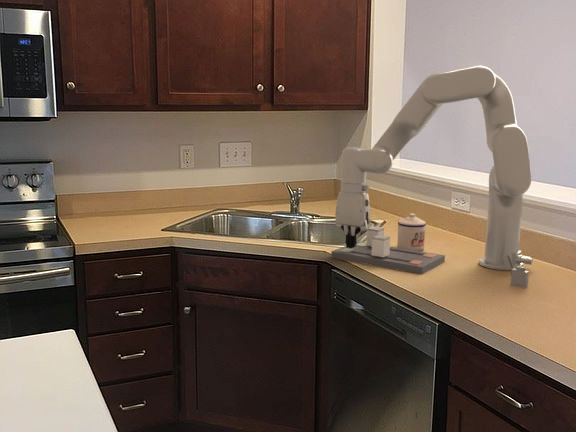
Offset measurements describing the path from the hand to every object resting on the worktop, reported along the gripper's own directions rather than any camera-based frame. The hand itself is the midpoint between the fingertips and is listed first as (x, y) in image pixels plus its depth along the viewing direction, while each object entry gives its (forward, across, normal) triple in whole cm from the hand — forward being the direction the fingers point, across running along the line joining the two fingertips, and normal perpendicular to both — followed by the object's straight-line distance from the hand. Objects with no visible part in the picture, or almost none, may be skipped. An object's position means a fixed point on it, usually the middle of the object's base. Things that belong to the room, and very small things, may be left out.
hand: (350, 247), depth 202 cm
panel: (+3, -10, -5) cm, 12 cm away
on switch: (+1, -3, -10) cm, 11 cm away
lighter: (+3, -49, -2) cm, 49 cm away
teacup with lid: (+4, -10, -24) cm, 26 cm away
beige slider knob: (+1, -10, 0) cm, 10 cm away
